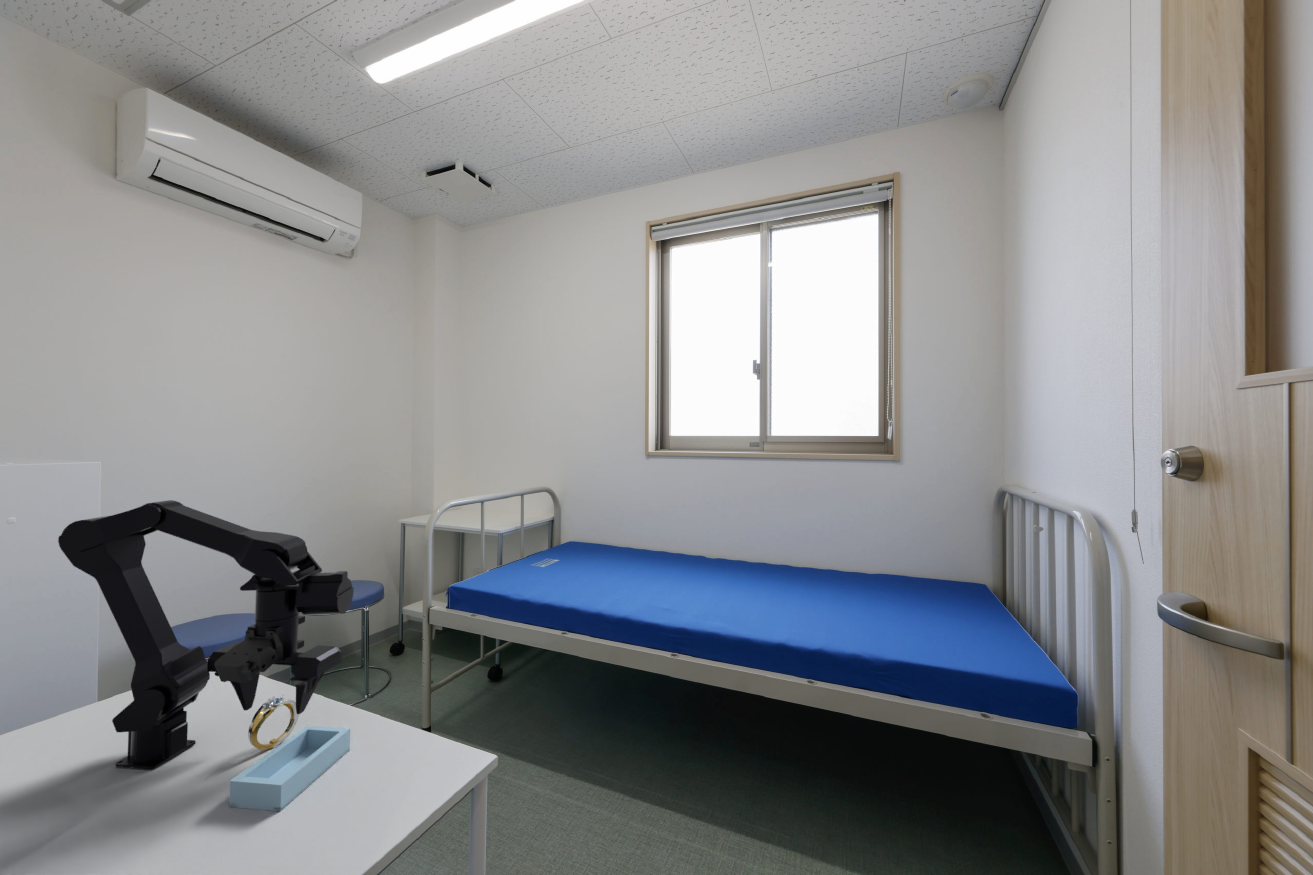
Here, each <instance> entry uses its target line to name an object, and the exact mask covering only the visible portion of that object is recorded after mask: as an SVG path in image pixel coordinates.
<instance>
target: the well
mask: <svg viewBox="0 0 1313 875" xmlns="http://www.w3.org/2000/svg"><path fill="white" fill-rule="evenodd" d="M350 750H351V728H349V727H335V726H333V727H332V726H321V725H319V726H318V725H305V726H304V727H303V728H301V729H299V731H298V732H296V733H294V734H293V735H292V736H291V737H289V738H288V739H285V740H284V741H282V742H281V743H280V745H279V744H278V746H277V747H275V748H273V750H271V751H269V752H267V754H265V755H264V756H263V757H261V758H260V759H258V760H257V761H256V762H254V763H253V764H252V765H250V766H249V767H247V768H246V769H245V770H242V772H241V773H239V774H238V775H237V776H234V777H233V778H232V779H231V780H230V781H229V797H228V798H229V802H228V804H229V805H228V807H229V808H239V809H250V810H263V811H271V812H273V811H276V812H281V811H283V810H284V809H285V808H286V807H287V806H288V805H289V804H290V803H291V802H293V801H294V800H295V799H296V798H297V797H299V796H300V795H301V794H302V793H303V792H304V791H306V789H307V788H309V787H310V786H311V785H312V784H313V783H315V781H317V780H318V779H319V778H320V777H322V775H323V774H325V773H326V772H327V771H328V770H329V769H330V768H332V767H333V766H334V764H336V763H337V762H338V761H339V760H340V759H342V758H343V757H344V756H345V755H346V754H347V753H349V752H350Z"/></svg>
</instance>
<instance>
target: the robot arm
mask: <svg viewBox="0 0 1313 875" xmlns="http://www.w3.org/2000/svg"><path fill="white" fill-rule="evenodd" d="M157 531H159V532H162V533H164V534H168V535H170V536H173V537H176V538H178V539H182V540H184V541H187V542H191V543H192V544H196V545H199V546H202V547H205V548H207V549H210V550H213V551H216V552H219V553H221V554H225V555H226V556H227V555H228V556H229V557H230V558H232V559H234V561H235V562H236V563H237V564H238V566H239V567H241V568H242V569H244V570H245V571H247V572H249V573H251V574H252V576H251V578H250V579H248V581H247V582H245V583H243V584H242V585H241V586H240V587H239V590H240V591H242V592H245V591H255V609H254V610H255V611H254V624H251V625H249V626H248V627H247V630H246V631H245V636H244V639H243V640H238V641H235V642H233V643H231V644H228V645H226V646H224V647H222V648H220V649H217V650H214V651H212V653H211V655H210V656H209V658H206V657H205V652H204V650H203V648H202V646H195V647H194V648H192V649H190V648H188V647H186V646H184V645H182V644H181V643H180V642H179V641H178V639H177V637H176V635H175V632H174V630H173V629H172V626H171V625H170V623H169V620H168V618H167V616H166V614H165V612H164V609H163V607H162V605H161V603H160V601H159V598H158V597H157V595H156V592H155V590H154V589H153V586H152V584H151V582H150V580H149V578H148V575H147V573H146V571H145V569H144V567H143V564H142V563H143V562H142V560H143V556H144V552H145V549H146V540H145V536H147V535H149V534H152V533H155V532H157ZM57 540H58V541H57V543H58V546H59V548H60V550H61V552H62V553H63V554H64V555H65V557H66V558H67V560H68V561H69V562H70V564H71V565H72V566H73V567H74V568H77V569H78V570H80V571H82V572H83V573H85V574H87V575H89V576H90V577H92V578H93V579H95V581H96V582H97V584H98V586H99V588H100V590H101V593H102V596H103V597H104V599H105V601H106V604H107V605H108V608H109V609H110V612H111V614H112V616H113V619H114V620H115V622H116V624H117V627H118V629H119V630H120V633H121V635H122V636H123V639H124V642H125V643H126V645H127V648H128V650H129V652H130V655H131V656H132V658H133V660H134V664H135V665H134V670H133V674H132V677H131V683H130V689H131V694H132V697H133V701H131V702H130V704H128V705H127V706H126V707H124V708H123V709H122V710H121V711H120V712H119V713H118V714H117V715H115V716H114V717H113V718H112V720H111V722H112V724H113V727H114V729H115V732H116V733H127V734H128V738H127V756H125V757H124V758H122V759H120V760H118V761H116V762H115V767H117V768H125V769H126V768H127V769H137V770H138V769H139V770H155V769H157V768H158V767H159V766H161V765H162V764H165V763H167V762H168V761H170V760H172V759H173V758H174V757H176V756H178V755H179V754H181V753H183V752H185V751H187V750H188V749H189V748H191V747H193V746H194V745H196V739H195V740H194V739H188V729H189V728H188V727H189V722H188V721H187V719H188V718H187V716H188V715H187V714H188V712H187V710H184V708H186V707H187V706H189V705H190V704H191V703H192V704H193V703H194V702H196V700H197V698H198V696H199V693H200V692H202V691H203V689H205V687H206V686H207V684H208V681H209V680H210V679H211V678H210V677H211V674H210V673H211V672H212V673H213V672H214V676H215V677H218V678H219V679H220V681H221V682H223V683H227V682H230V684H231V686H232V687H233V689H234V692H235V694H236V695H237V698H238V700H239V702H240V705H241V707H242V709H243V711H248V710H250V709H251V708H253V706H254V702H255V698H256V694H257V689H258V684H259V680H260V675H261V673H265V672H266V671H267V670H268V669H270V668H271V667H272V665H275V666H291V667H290V672H291V674H292V675H293V676H292V677H291V678H289V681H290V682H292V683H293V684H294V685H295V702H296V712H297V714H299V715H301V714H302V713H303V712H305V709H306V708H307V706H308V704H309V702H310V700H311V699H312V696H313V694H314V692H315V690H316V688H317V687H318V685H319V683H320V681H321V680H322V678H323V677H324V675H325V674H326V672H327V671H329V670H331V669H332V668H334V667H335V666H337V665H338V664H341V662H342V651H341V649H340V648H339V647H338V646H333V645H332V646H331V645H316V646H314V647H312V648H311V649H308V650H306V651H305V652H298V650H299V649H302V648H304V647H305V640H304V639H299V633H300V632H299V629H300V628H299V626H300V625H301V624H303V623H305V622H306V616H315V615H316V616H317V615H342V614H343V615H344V614H345V613H347V612H348V611H349V609H350V607H351V605H352V601H353V599H354V598H353V597H354V586H353V584H352V581H351V579H350V578H349V577H348V574H349V573H348V571H347V570H342V571H341V570H339V571H336V572H335V571H334V572H323V569H322V568H321V566H320V565H319V563H317V561H316V560H315V559H314V558H313V556H312V555H311V554H310V552H309V551H308V547H307V545H306V541H305V540H304V539H303V538H301V537H299V536H297V535H293V534H292V535H291V534H287V533H286V534H285V533H282V532H274V531H260V530H253V529H251V528H248V527H244V526H241V525H239V524H237V523H236V524H235V523H234V522H230V521H228V520H225V519H222V518H219V517H217V516H214V515H211V514H208V513H205V512H203V511H200V510H198V509H194V508H192V507H190V506H186V505H184V504H183V503H181V502H179V501H177V500H172V499H170V500H161V501H155V502H148V503H145V504H142V506H138V507H135V508H132V509H130V510H126V511H123V512H120V513H119V512H118V513H115V514H112V515H106V516H99V517H93V518H92V517H91V518H84V519H82V520H81V519H80V520H75V521H73V522H71V523H69V524H68V525H67V526H66V527H65V528H63V531H62V533H61V534H60V535H58V539H57ZM294 569H298V570H296V571H293V572H292V570H294ZM300 613H302V615H300Z"/></svg>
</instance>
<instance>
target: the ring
mask: <svg viewBox="0 0 1313 875" xmlns="http://www.w3.org/2000/svg"><path fill="white" fill-rule="evenodd" d="M275 697H276V696H275V695H274V696H273V695H272V697H271V698H268V699H267V700H266V701H265V702H263V704H262V705H260V707H259V708H258V709H257V710H256V712H255V714H254V715H253V717H252V719H251V722H250V724H249V728H248V735H247V736H248V741H249V742H250V744H251V746H253V747H254V748H256V749H258V750H268V749H275V748H276V747H278V746H279V744H280V745H281V744H282V743H283V742H285V741H286V740H287V738H288V737H289V736H290V735H291V733H292V732H293V731H294V729H295V727H296V725H297V723H298V720H299V717H300V716H299V715H300V714H297V712H296V700H294V699H285V694H282V696H280V697H277V698H275ZM282 706H285V707H286V708H287V709H288V710H289V713H290V719H289V722H288V726H287V728H286V729H285V730H284V731H283V733H282V734H281V735H280V736H278V737H277V738H273V739H271V740H269V742H267V743H260V742H259V741H258V733H259V730H260V728H261V727H262V725H263V724H264V722H265V721H266V720H267V719H268V718H269V717H270V716H271V714H273V713H274V712H275V710H277V709H278V708H280V707H282Z"/></svg>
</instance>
